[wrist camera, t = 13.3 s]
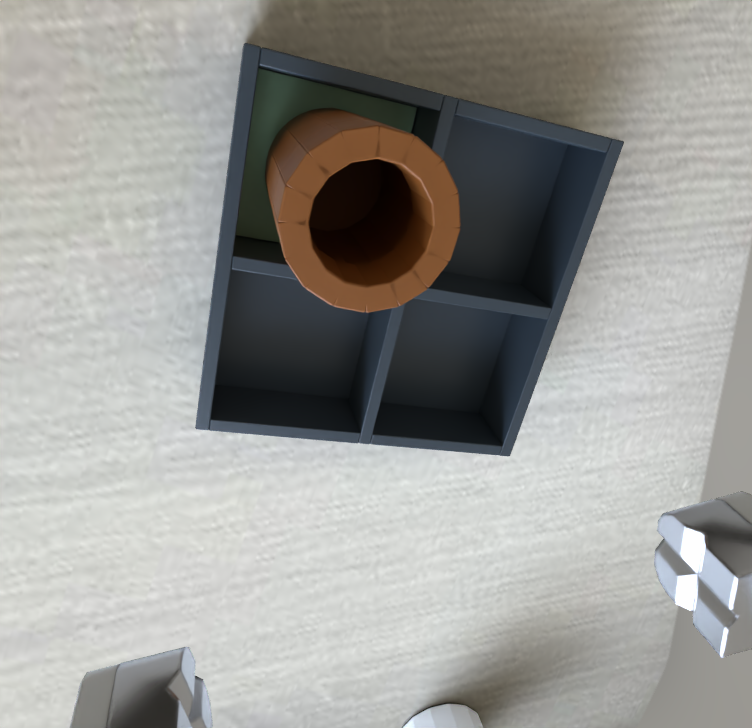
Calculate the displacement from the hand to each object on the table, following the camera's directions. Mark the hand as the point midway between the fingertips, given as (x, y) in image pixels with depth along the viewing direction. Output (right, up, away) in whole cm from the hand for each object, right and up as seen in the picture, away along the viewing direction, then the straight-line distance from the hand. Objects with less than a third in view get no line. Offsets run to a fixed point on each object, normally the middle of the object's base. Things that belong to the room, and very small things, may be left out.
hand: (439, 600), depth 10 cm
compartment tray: (-1, +9, +20) cm, 22 cm away
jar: (-3, +12, +17) cm, 21 cm away
